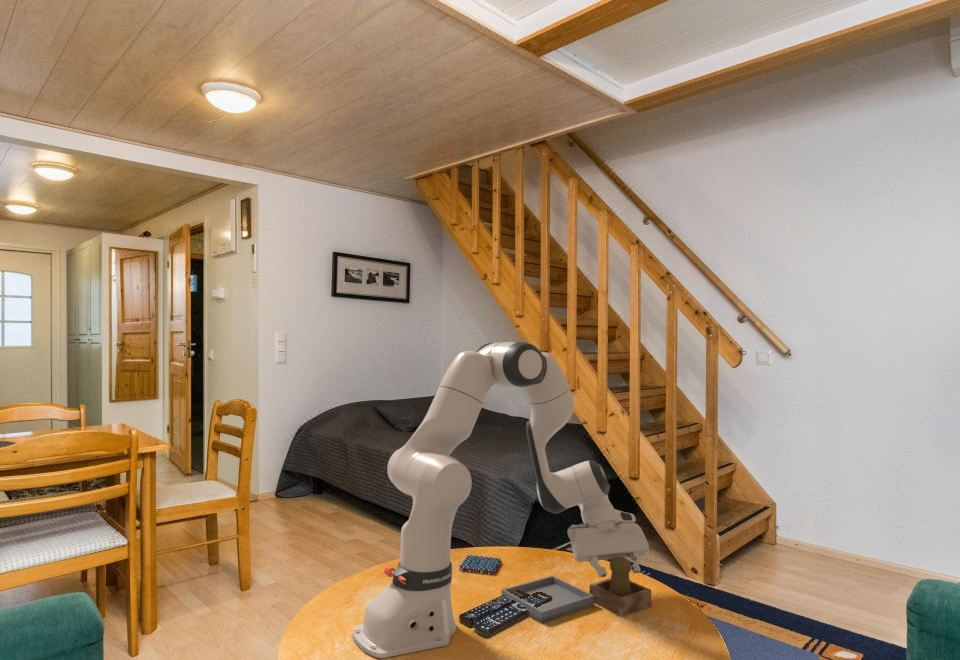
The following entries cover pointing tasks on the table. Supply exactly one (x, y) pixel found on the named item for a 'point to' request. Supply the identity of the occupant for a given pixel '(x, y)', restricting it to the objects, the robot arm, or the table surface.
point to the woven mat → (480, 564)
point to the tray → (563, 596)
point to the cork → (620, 576)
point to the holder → (621, 598)
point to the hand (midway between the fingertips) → (620, 574)
